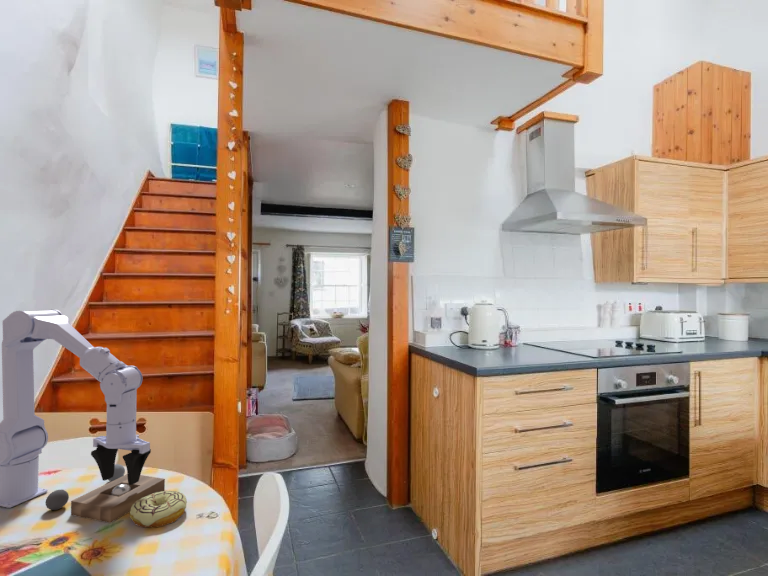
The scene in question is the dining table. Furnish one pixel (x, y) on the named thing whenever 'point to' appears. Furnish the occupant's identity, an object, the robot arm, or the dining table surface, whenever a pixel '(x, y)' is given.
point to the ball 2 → (117, 472)
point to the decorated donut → (158, 509)
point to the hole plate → (114, 499)
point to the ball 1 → (57, 499)
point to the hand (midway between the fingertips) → (120, 480)
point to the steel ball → (120, 490)
